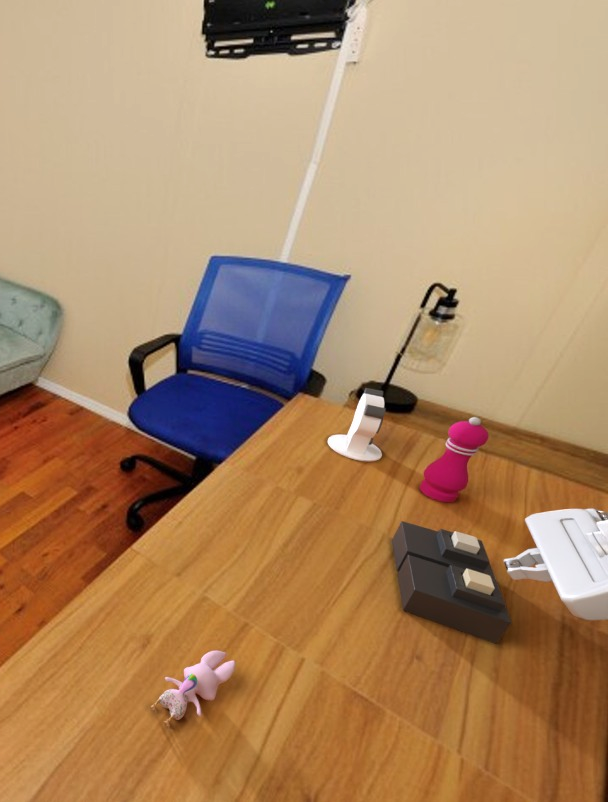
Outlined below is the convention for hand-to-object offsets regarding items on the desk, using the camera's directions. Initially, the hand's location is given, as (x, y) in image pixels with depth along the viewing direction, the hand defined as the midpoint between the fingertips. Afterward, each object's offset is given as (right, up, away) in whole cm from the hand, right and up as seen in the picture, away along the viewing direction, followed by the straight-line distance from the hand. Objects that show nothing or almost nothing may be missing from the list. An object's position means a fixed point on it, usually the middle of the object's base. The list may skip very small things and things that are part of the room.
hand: (507, 569), depth 81 cm
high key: (-2, -4, +3) cm, 5 cm away
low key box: (+1, -5, +14) cm, 15 cm away
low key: (+3, 0, +10) cm, 11 cm away
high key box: (-4, -9, +7) cm, 12 cm away
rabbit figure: (-53, -16, -5) cm, 56 cm away
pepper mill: (+19, +5, +33) cm, 38 cm away
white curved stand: (+12, +13, +48) cm, 51 cm away
